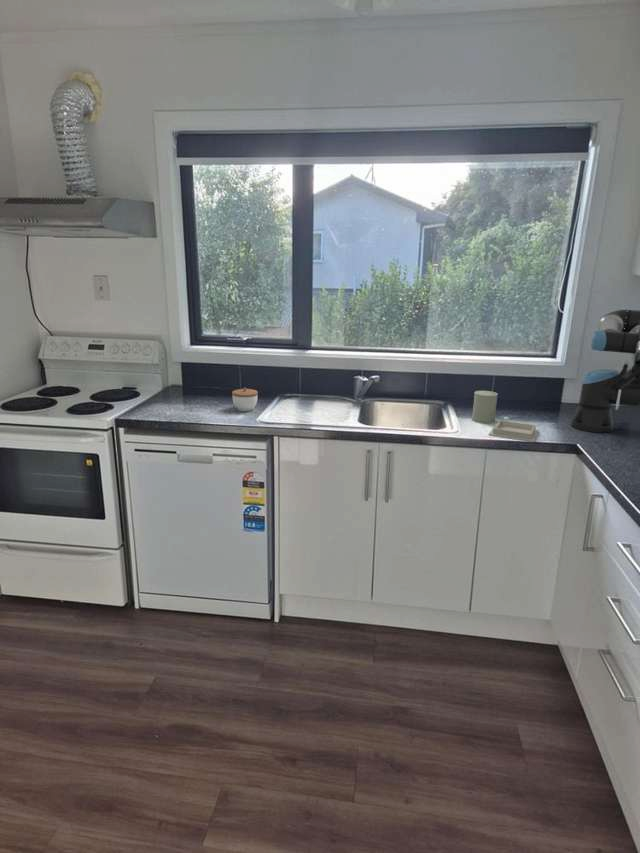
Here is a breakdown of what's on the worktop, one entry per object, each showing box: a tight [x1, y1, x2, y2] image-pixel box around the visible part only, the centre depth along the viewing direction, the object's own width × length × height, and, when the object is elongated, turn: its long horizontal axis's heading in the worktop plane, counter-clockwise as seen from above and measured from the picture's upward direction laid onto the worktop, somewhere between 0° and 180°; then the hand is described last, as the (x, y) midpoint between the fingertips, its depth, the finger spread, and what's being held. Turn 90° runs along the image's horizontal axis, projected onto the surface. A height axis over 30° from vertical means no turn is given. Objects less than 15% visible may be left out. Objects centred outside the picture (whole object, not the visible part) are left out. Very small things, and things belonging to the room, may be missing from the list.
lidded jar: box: [231, 387, 259, 412], centre depth 228 cm, size 11×11×9 cm
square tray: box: [488, 419, 540, 443], centre depth 206 cm, size 16×16×2 cm
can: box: [471, 390, 499, 424], centre depth 221 cm, size 9×9×12 cm
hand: (639, 411), depth 181 cm, fingers open, 13 cm apart
